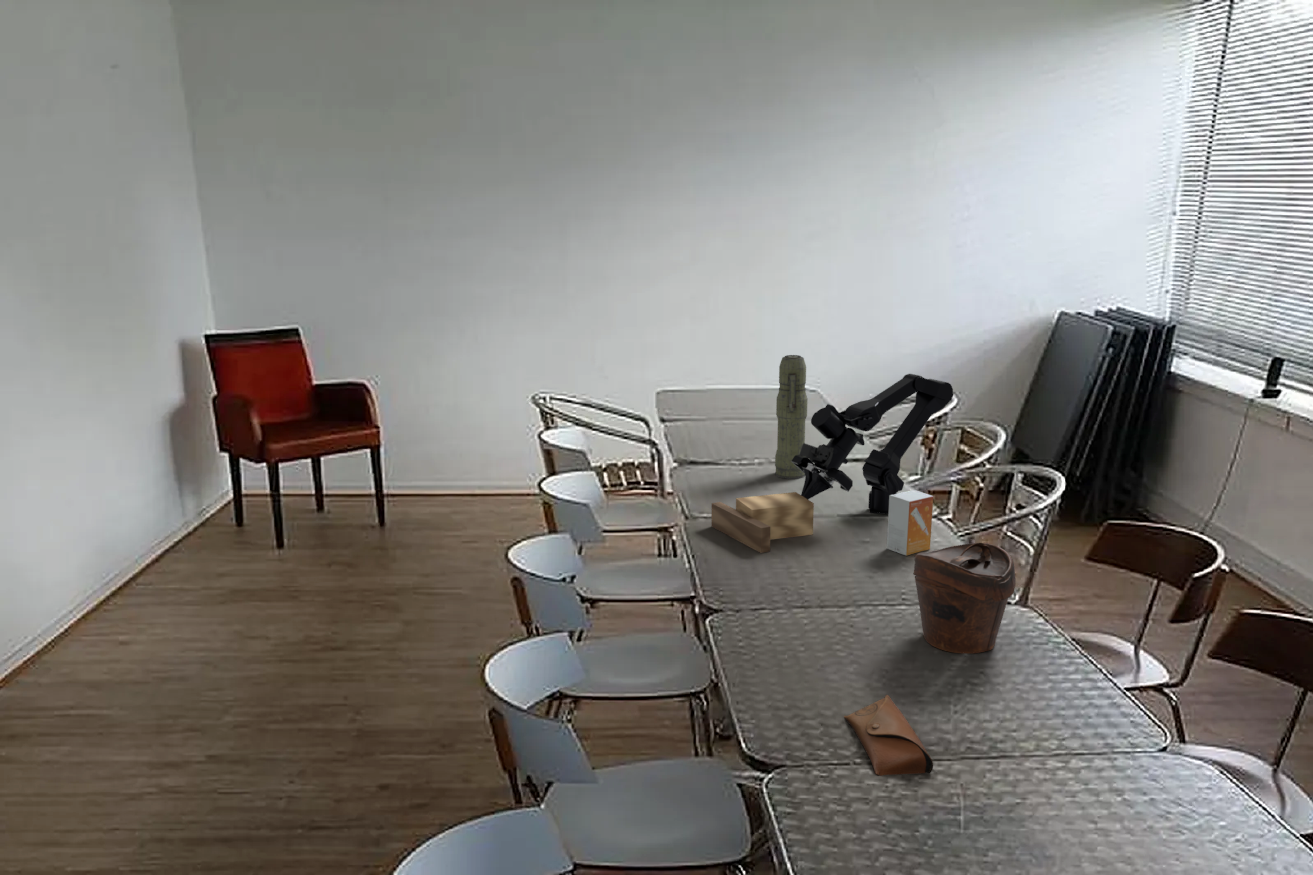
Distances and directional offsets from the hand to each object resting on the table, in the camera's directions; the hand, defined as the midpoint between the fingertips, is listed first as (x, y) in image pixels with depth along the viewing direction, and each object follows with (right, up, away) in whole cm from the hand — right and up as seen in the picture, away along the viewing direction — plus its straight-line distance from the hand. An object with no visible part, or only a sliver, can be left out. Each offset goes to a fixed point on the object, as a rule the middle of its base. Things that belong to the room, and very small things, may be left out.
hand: (802, 500), depth 250 cm
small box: (+22, -11, -15) cm, 29 cm away
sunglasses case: (-2, -31, -97) cm, 102 cm away
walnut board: (-16, -9, -7) cm, 20 cm away
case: (+20, -22, -62) cm, 69 cm away
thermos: (+3, +4, +47) cm, 48 cm away
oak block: (-7, -8, -2) cm, 11 cm away
